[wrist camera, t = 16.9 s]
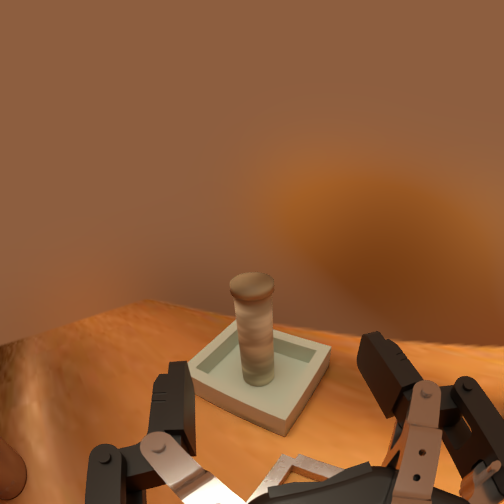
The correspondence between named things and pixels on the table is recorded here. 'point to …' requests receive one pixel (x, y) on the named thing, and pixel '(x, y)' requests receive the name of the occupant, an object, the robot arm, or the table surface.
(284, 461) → the stop collar
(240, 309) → the stop peg
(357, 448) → the table surface
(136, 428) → the table surface
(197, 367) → the tray
